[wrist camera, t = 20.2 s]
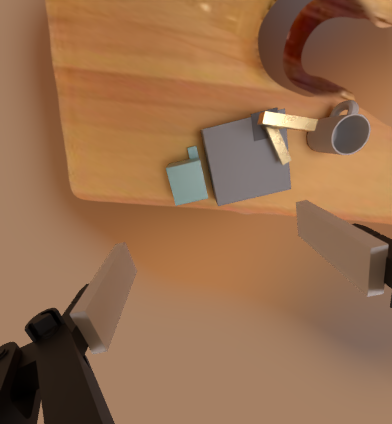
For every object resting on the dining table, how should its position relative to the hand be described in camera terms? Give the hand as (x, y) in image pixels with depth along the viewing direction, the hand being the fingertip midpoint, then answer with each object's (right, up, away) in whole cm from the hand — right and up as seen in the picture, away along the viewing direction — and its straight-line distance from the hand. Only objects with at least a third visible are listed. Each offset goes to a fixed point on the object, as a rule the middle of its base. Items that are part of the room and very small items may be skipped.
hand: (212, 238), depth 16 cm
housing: (+9, +14, +32) cm, 36 cm away
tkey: (+13, +16, +25) cm, 32 cm away
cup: (+27, +21, +31) cm, 46 cm away
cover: (-4, +11, +33) cm, 35 cm away
